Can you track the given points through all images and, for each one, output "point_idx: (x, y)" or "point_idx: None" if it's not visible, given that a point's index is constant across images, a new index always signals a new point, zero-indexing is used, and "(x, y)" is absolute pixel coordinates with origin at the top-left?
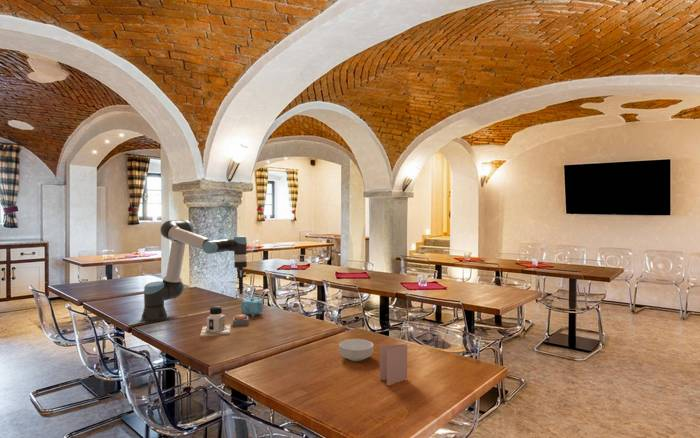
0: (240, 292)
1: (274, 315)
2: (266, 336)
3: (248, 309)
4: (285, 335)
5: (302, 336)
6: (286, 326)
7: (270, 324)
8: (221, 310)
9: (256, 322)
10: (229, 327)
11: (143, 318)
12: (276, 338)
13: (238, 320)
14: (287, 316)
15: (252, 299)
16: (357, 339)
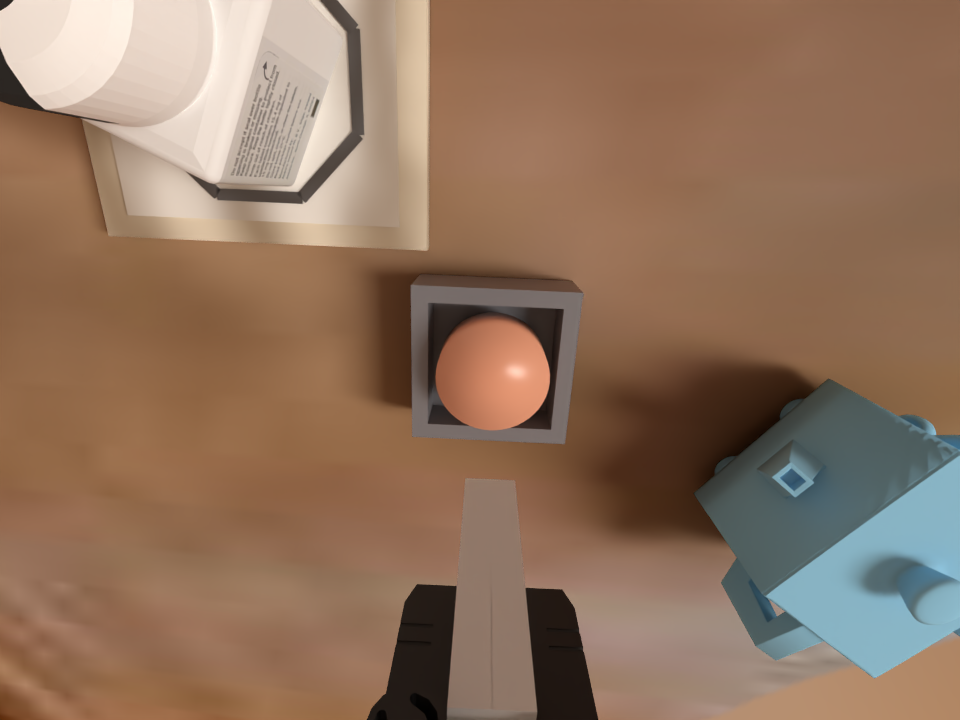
0: (403, 634)
1: (669, 618)
2: (77, 509)
3: (762, 472)
4: (103, 614)
5: (81, 688)
6: (322, 647)
7: (401, 565)
8: (52, 112)
9: (494, 477)
10: (309, 235)
11: None
12: (31, 560)
13: (412, 340)
14: (597, 686)
15: (904, 595)
16: None
